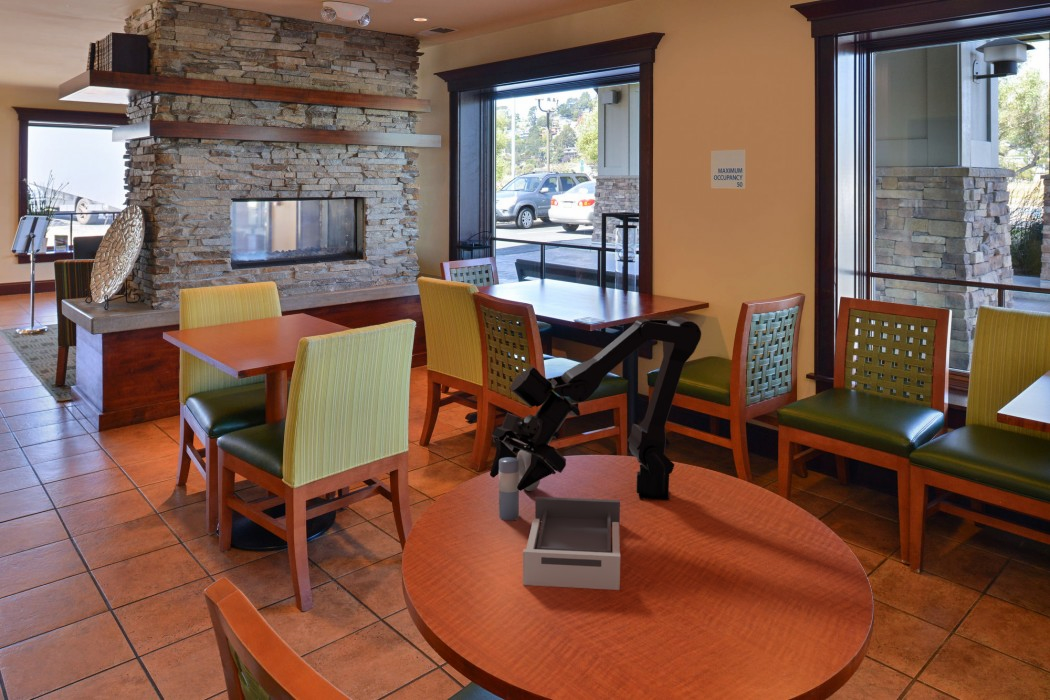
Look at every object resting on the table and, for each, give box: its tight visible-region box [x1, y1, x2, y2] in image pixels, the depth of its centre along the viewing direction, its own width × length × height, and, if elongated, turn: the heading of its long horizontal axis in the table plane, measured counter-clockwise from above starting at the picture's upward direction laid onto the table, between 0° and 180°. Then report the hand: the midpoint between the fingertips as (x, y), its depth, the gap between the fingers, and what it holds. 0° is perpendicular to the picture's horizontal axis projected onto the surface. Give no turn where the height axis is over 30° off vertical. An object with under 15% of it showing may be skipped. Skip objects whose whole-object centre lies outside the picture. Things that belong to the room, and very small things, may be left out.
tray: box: [534, 496, 621, 553], centre depth 149 cm, size 18×17×5 cm
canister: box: [498, 457, 520, 521], centre depth 160 cm, size 4×4×12 cm
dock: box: [522, 518, 621, 591], centre depth 141 cm, size 18×16×6 cm
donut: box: [516, 446, 541, 492], centre depth 175 cm, size 10×4×10 cm, turn 19°
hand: (504, 482), depth 159 cm, fingers open, 9 cm apart
